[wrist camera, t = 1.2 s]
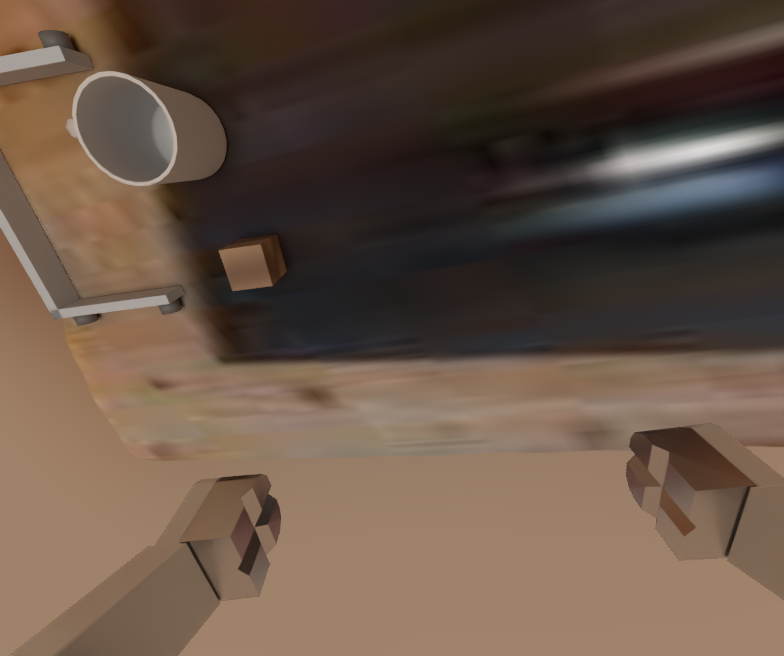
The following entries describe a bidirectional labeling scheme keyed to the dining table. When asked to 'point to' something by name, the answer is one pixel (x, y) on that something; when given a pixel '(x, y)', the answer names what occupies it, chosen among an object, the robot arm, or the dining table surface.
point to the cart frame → (18, 222)
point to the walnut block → (253, 262)
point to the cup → (146, 130)
